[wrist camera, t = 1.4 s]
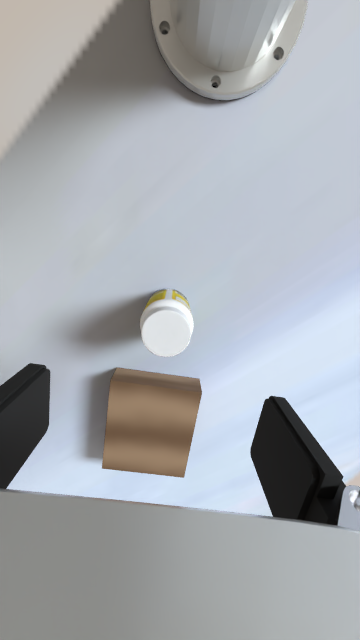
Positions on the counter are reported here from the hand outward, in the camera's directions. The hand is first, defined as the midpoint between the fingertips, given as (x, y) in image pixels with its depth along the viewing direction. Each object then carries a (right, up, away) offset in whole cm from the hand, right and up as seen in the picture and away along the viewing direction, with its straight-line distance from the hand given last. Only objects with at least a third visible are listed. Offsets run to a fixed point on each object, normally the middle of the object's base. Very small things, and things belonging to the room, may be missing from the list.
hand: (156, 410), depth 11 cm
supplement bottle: (0, +5, +17) cm, 18 cm away
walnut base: (-3, -8, +21) cm, 22 cm away
